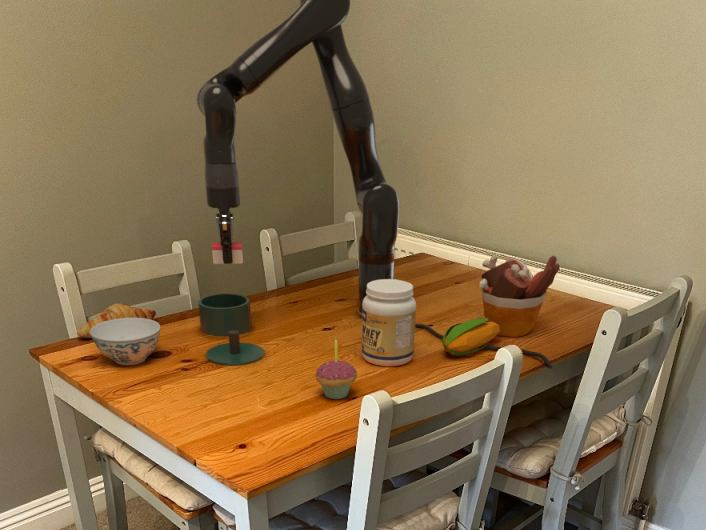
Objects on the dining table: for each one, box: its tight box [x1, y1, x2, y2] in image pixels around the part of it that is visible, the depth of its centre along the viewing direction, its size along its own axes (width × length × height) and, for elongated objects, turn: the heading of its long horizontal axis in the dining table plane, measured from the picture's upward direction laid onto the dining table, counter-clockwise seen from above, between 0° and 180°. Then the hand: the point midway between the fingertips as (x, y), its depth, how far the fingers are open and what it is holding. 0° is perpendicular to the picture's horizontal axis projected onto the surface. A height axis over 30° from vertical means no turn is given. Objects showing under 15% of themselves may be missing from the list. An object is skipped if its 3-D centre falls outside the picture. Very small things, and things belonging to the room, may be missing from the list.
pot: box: [197, 292, 253, 338], centre depth 186 cm, size 12×12×8 cm
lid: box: [205, 330, 265, 367], centre depth 171 cm, size 13×13×6 cm
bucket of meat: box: [478, 254, 560, 338], centre depth 185 cm, size 20×16×20 cm
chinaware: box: [90, 318, 161, 366], centre depth 167 cm, size 15×15×8 cm
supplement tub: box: [361, 279, 417, 367], centre depth 169 cm, size 12×12×17 cm
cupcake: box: [315, 335, 358, 400], centre depth 152 cm, size 9×8×12 cm
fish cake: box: [211, 241, 244, 265], centre depth 178 cm, size 7×4×4 cm, turn 98°
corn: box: [441, 317, 500, 357], centre depth 177 cm, size 7×8×20 cm
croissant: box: [76, 302, 157, 339], centre depth 185 cm, size 21×10×8 cm, turn 136°
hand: (228, 260), depth 179 cm, fingers closed on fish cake, 4 cm apart
